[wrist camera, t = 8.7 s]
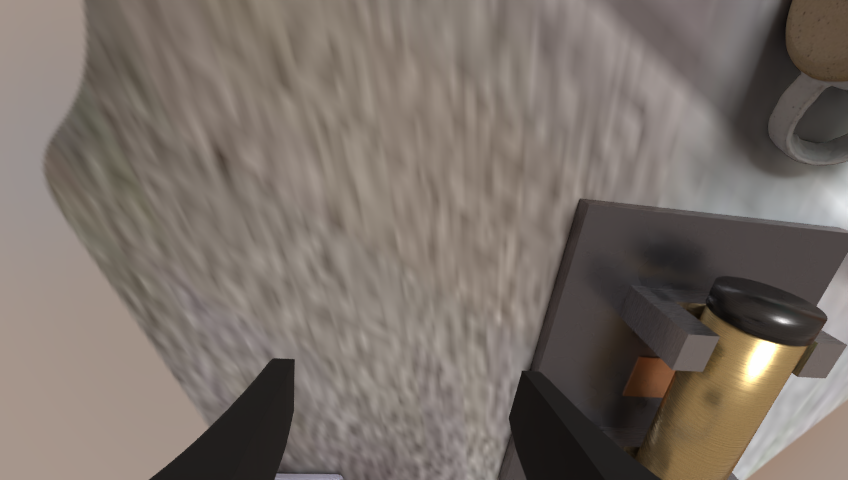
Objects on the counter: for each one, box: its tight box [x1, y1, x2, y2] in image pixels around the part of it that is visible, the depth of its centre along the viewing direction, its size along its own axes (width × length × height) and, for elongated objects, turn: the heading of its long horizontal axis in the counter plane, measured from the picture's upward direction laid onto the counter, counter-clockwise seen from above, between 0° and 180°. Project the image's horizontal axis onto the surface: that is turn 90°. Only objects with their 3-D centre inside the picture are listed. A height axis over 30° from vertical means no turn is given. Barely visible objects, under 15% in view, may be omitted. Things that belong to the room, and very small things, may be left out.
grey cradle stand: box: [499, 199, 848, 480], centre depth 23 cm, size 21×16×6 cm
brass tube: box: [635, 276, 827, 480], centre depth 21 cm, size 16×4×4 cm, turn 172°
